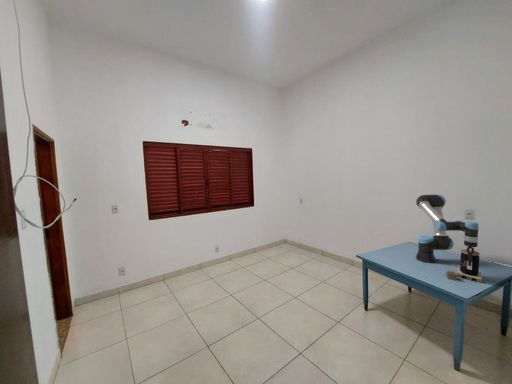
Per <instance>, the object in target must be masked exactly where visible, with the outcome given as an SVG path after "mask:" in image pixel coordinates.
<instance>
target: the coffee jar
mask: <svg viewBox="0 0 512 384" xmlns="http://www.w3.org/2000/svg"><path fill="white" fill-rule="evenodd" d="M480 256H481V255H480V252H478V251H475V250H474V251H473V254H472V270H470V269H467V261H466V260H468V253H467V249H460V262H459V263H460V264H459V268H460V271H461V272H462V273H464V274H466V275H471V276H477V275H478V274H479V272H480Z"/></svg>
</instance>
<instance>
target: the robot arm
mask: <svg viewBox="0 0 512 384" xmlns="http://www.w3.org/2000/svg"><path fill="white" fill-rule="evenodd" d="M415 202H416V206H417V207H418V208H419V209H420V210H423V212H424V213H425V214H426V215H427V216H428V218H430V220H431V221H432V228H433V235H427V234H425V235H420V236H419V237H418V239H417V240H418V241H417V242H418V243H417V244H418V245H417V246H418V249H417V250H418V251H417V253H416V254H415V259H416V260H417V261H420V262H423V263H428V264H434V263H436V262H437V261H436V257H435V254H434V251H448V250H450V251H451V250H452V249H453V248H454V241H453V239H452V238H451V237H449V236H450V235H448V234H447V231H448V232H450V231H451V232H452V231H453V232H454V231H457V232H458V231H461V232H463V233H464V235H463V236H462V237H463V238H464V240H463V245H464V246H466V250H467V253H468V260H466V261H467V269H470V270H472V254H473V251H475V249H474V248H477V247H478V243H479V242H478V241H479V223H478V222H475V221H462V220H454V221H447V220H446V219H445V218H444V215H443V210H442V209H443V208H444V206H446V203H447V201H446V198H445V196H443V195H442V194H422V195H419V196H418V197H417V198H416V201H415Z"/></svg>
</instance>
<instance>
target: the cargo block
mask: <svg viewBox="0 0 512 384" xmlns="http://www.w3.org/2000/svg"><path fill="white" fill-rule="evenodd" d="M445 276H446V277H447V278H446V279H447V280H452V281H457V278H458V277H457V272H456V271H452V270H451V271H450V270H446V274H445Z"/></svg>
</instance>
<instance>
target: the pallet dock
mask: <svg viewBox="0 0 512 384" xmlns="http://www.w3.org/2000/svg"><path fill="white" fill-rule="evenodd" d="M456 269H457V271H456V274H457V278H459V279H462V278H463V276H464V277H466V279H465V280H467V281H472V280H473V279H475V281H476V282H477V283H479V284H480V283H481V284H482V283H483V276H482V272H480V271H479V274H478V275H477V276H471V275H466V274H464V273H462V272H461V271H460V267H457V268H456Z"/></svg>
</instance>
